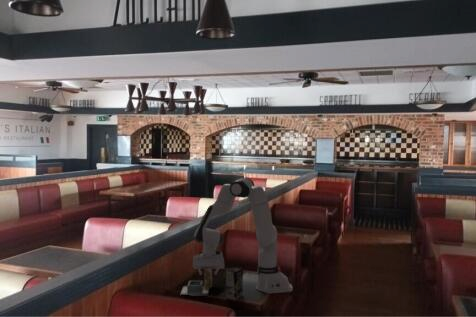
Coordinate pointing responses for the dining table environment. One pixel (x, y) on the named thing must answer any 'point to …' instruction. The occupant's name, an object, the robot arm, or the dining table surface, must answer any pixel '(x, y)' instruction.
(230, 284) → the coffee box
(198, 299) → the dining table surface
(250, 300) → the dining table surface
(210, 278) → the beech pin
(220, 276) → the dining table surface
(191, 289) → the socket plate
